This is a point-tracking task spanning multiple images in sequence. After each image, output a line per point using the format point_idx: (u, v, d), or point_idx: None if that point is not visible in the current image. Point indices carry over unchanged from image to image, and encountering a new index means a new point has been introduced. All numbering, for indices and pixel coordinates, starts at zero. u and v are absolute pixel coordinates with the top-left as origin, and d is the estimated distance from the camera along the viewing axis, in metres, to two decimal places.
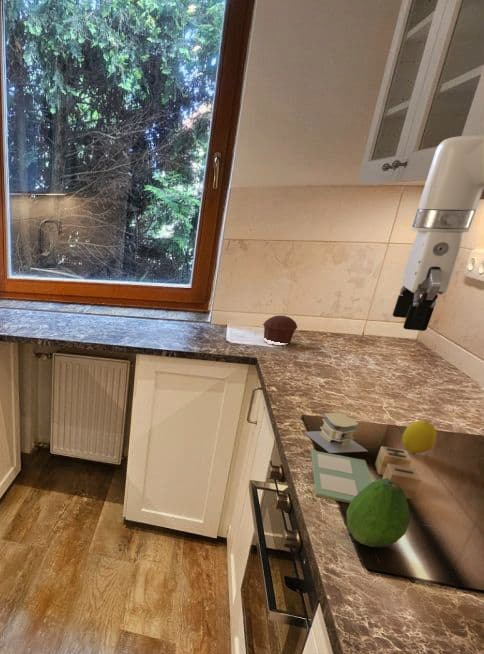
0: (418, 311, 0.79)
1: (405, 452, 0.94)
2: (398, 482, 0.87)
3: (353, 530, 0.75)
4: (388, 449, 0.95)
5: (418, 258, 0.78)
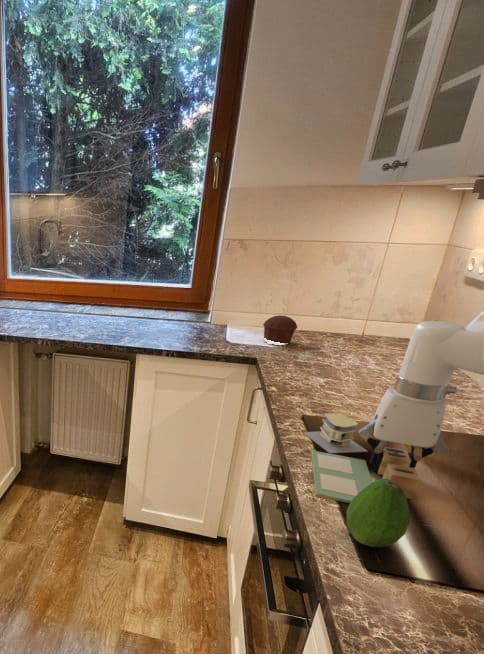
0: (416, 462, 0.93)
1: (405, 452, 0.94)
2: (398, 482, 0.87)
3: (353, 530, 0.75)
4: (388, 449, 0.95)
5: (433, 422, 0.87)
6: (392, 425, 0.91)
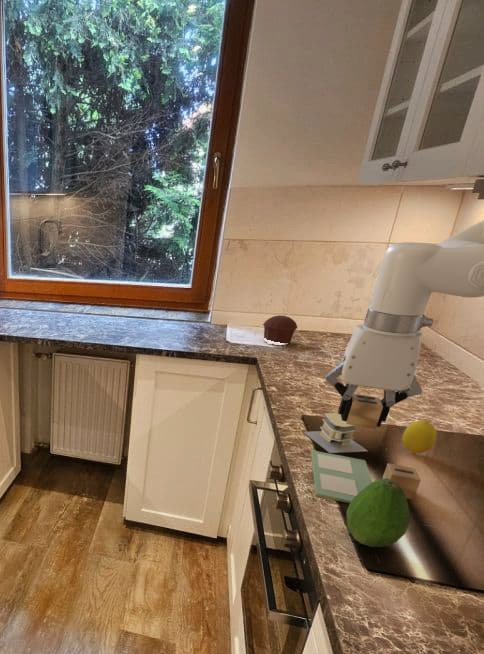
0: None
1: (377, 399, 0.84)
2: (398, 482, 0.87)
3: (353, 530, 0.75)
4: (358, 396, 0.85)
5: (407, 360, 0.77)
6: (361, 366, 0.80)
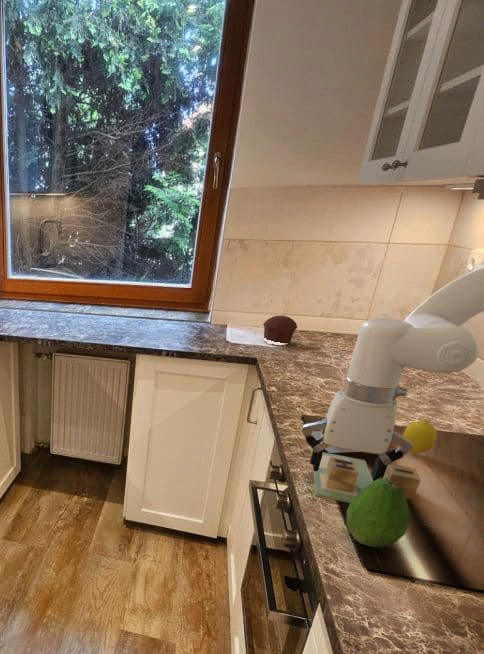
0: None
1: (354, 464, 0.89)
2: (398, 482, 0.87)
3: (353, 530, 0.75)
4: (336, 460, 0.90)
5: (384, 427, 0.82)
6: (342, 430, 0.85)
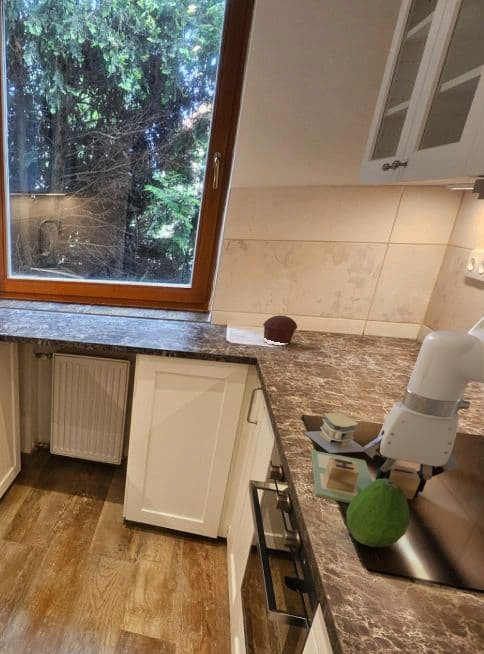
0: None
1: (354, 464, 0.89)
2: (398, 482, 0.87)
3: (353, 530, 0.75)
4: (336, 460, 0.90)
5: (445, 440, 0.81)
6: (400, 442, 0.84)
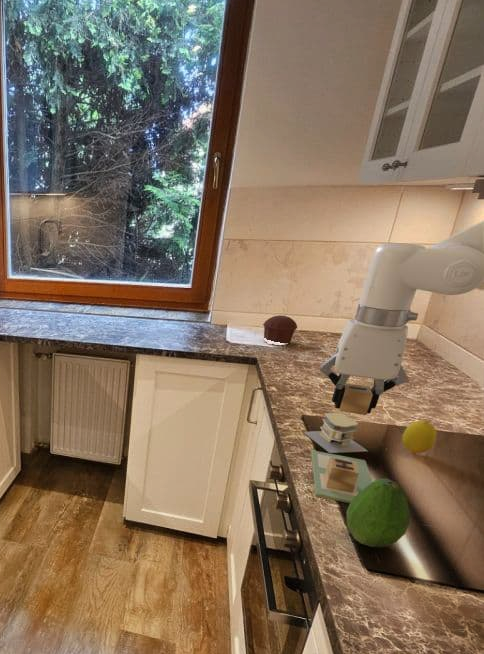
0: (378, 396, 0.89)
1: (354, 464, 0.89)
2: (352, 398, 0.90)
3: (353, 530, 0.75)
4: (336, 460, 0.90)
5: (395, 351, 0.84)
6: (353, 357, 0.87)
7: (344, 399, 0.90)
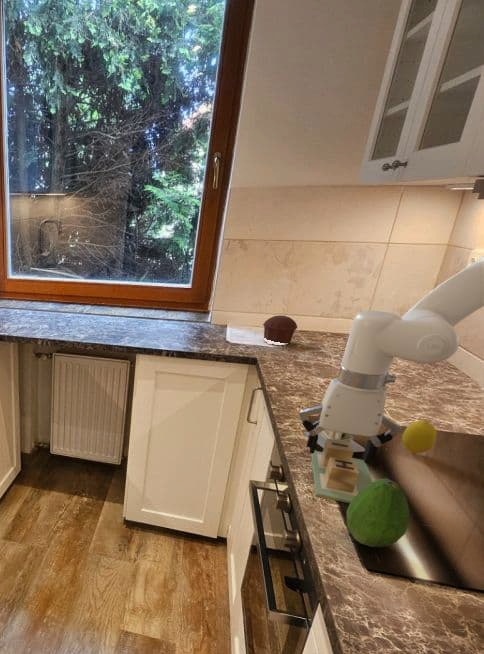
0: (376, 448, 0.93)
1: (354, 464, 0.89)
2: (334, 455, 0.95)
3: (353, 530, 0.75)
4: (336, 460, 0.90)
5: (375, 411, 0.89)
6: (336, 414, 0.92)
7: (327, 455, 0.96)
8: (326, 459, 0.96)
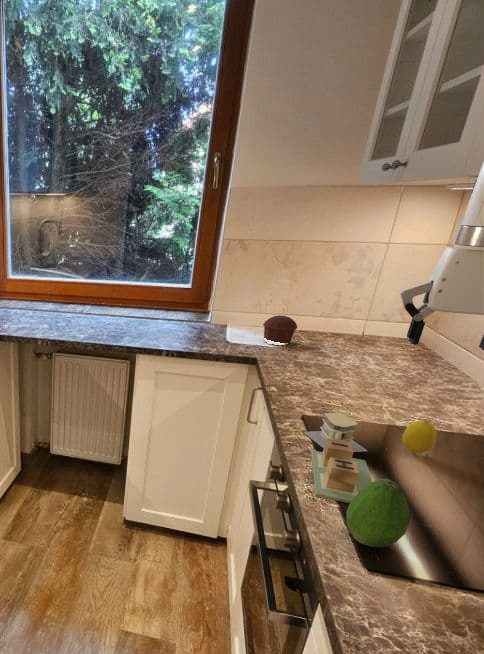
0: None
1: (354, 464, 0.89)
2: (334, 455, 0.95)
3: (353, 530, 0.75)
4: (336, 460, 0.90)
5: None
6: (453, 288, 0.74)
7: (327, 455, 0.96)
8: (326, 459, 0.96)
